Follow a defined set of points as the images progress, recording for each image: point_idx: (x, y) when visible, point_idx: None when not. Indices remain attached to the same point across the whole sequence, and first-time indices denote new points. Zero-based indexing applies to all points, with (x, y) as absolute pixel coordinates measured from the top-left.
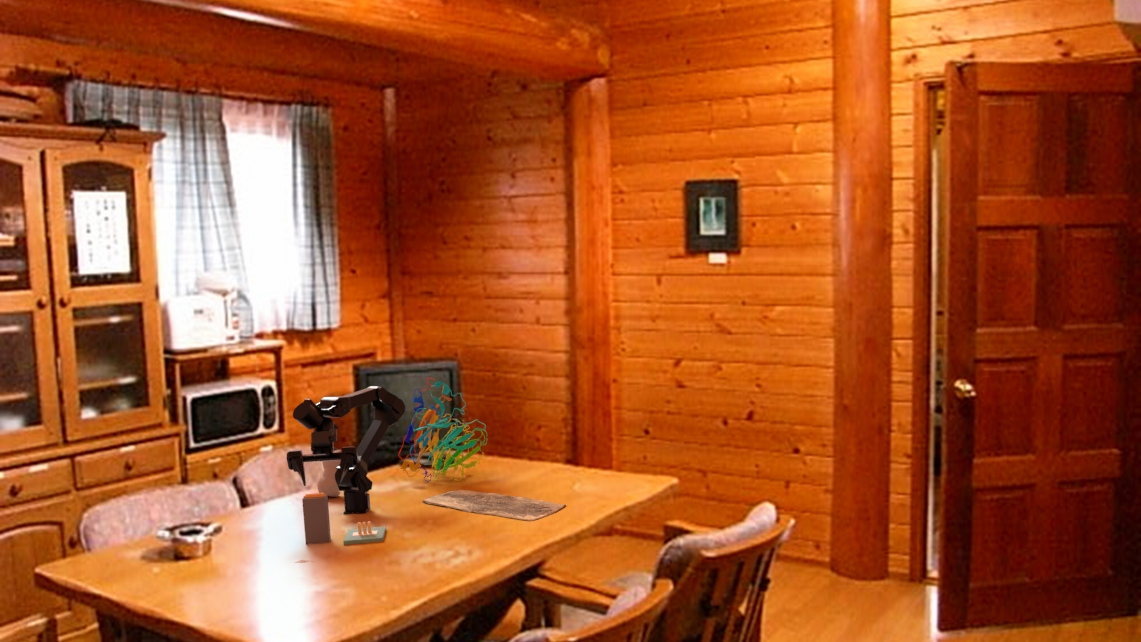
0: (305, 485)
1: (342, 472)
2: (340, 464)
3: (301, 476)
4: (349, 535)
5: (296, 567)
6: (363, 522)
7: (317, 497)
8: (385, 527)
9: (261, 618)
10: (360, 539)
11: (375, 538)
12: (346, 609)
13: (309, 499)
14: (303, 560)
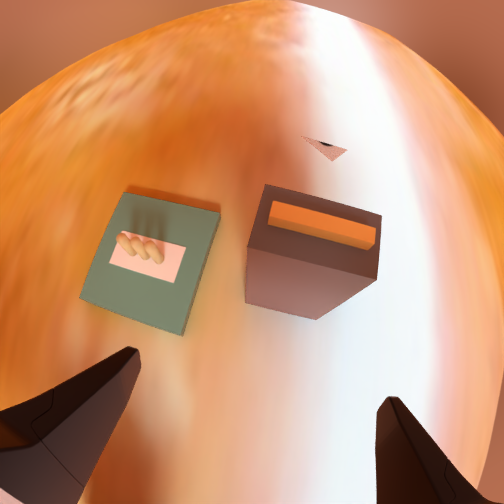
0: (378, 411)
1: (74, 378)
2: (42, 434)
3: (429, 437)
4: (191, 260)
5: (338, 125)
6: (137, 242)
7: (307, 206)
8: (82, 289)
9: (353, 30)
10: (174, 203)
11: (139, 195)
12: (269, 13)
13: (347, 207)
14: (327, 154)
